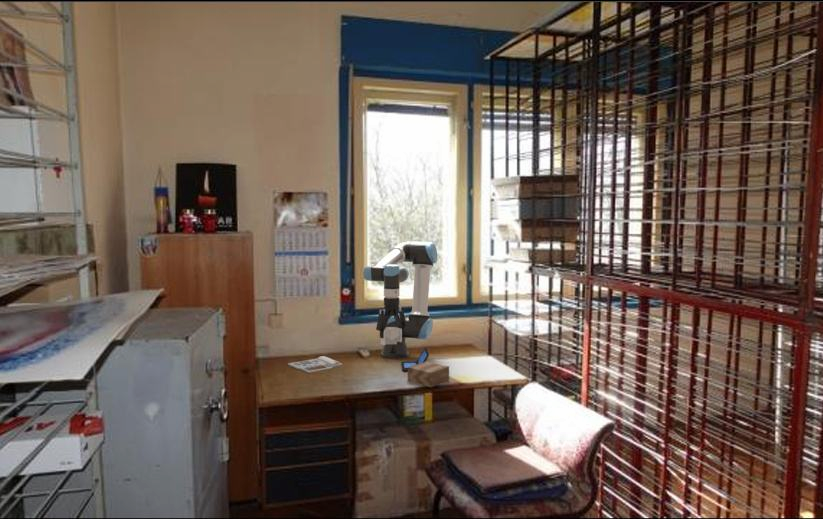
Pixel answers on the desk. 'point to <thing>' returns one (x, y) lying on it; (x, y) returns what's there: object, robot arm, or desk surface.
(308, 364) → the office telephone
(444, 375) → the walnut block
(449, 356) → the desk surface
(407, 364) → the handheld game console
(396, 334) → the die
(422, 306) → the robot arm
